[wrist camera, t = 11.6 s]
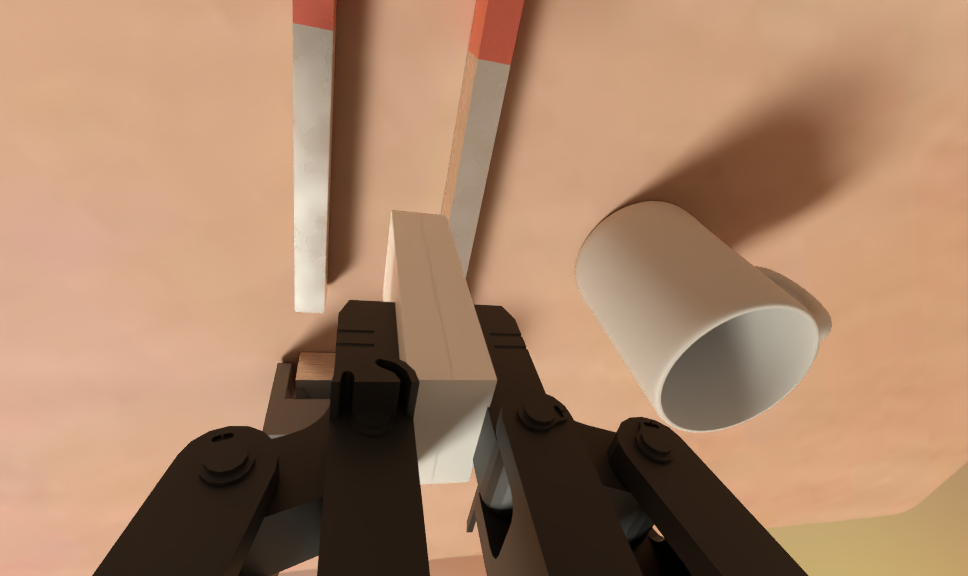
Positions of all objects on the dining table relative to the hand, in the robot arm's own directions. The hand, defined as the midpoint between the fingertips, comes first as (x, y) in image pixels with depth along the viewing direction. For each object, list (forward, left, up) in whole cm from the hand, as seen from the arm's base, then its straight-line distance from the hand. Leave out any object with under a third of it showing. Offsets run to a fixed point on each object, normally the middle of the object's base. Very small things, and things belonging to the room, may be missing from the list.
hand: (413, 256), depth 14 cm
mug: (+6, +18, -13) cm, 23 cm away
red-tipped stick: (+1, -4, -13) cm, 13 cm away
